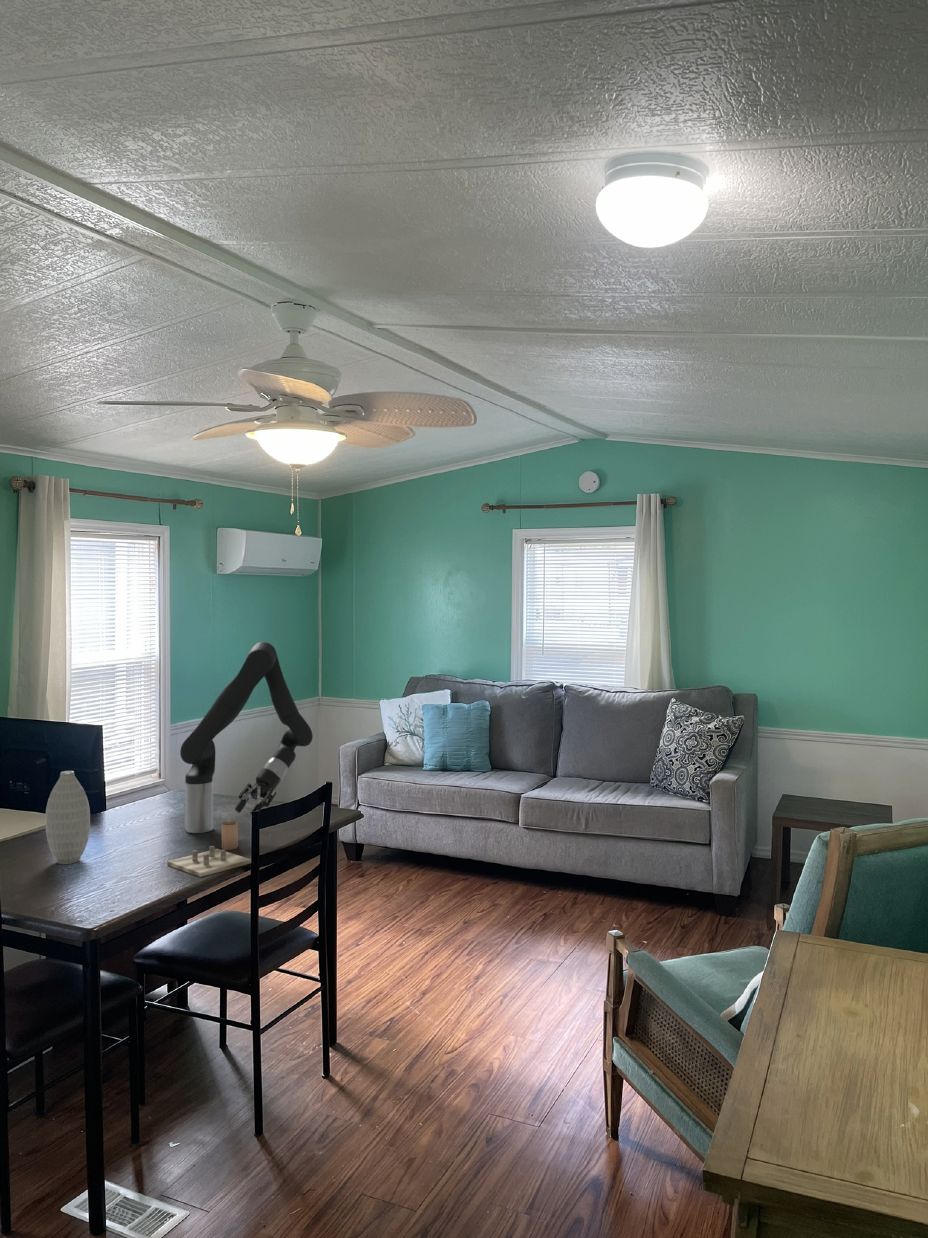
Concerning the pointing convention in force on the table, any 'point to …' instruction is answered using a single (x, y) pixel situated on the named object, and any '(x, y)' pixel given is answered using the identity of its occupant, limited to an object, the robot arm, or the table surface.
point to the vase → (67, 819)
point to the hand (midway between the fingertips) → (244, 813)
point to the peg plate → (212, 861)
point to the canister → (229, 834)
